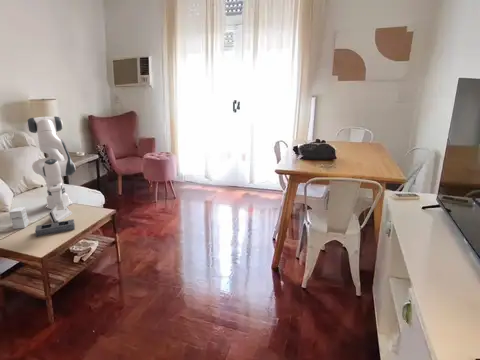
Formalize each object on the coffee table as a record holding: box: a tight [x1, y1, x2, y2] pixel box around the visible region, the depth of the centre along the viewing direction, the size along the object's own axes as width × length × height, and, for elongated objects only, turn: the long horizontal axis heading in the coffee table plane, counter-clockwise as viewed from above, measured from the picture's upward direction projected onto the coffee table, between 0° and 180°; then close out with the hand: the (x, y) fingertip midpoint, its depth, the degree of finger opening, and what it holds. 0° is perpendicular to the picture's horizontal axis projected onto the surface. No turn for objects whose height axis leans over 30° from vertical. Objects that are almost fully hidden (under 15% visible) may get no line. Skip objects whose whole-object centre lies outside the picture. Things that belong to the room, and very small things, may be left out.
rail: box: [34, 219, 76, 238], centre depth 223 cm, size 8×22×4 cm, turn 115°
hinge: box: [48, 204, 73, 223], centre depth 242 cm, size 17×5×10 cm, turn 173°
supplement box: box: [9, 206, 30, 230], centre depth 230 cm, size 7×7×13 cm
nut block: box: [56, 198, 64, 211], centre depth 220 cm, size 4×4×8 cm
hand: (59, 205), depth 220 cm, fingers closed on nut block, 4 cm apart
